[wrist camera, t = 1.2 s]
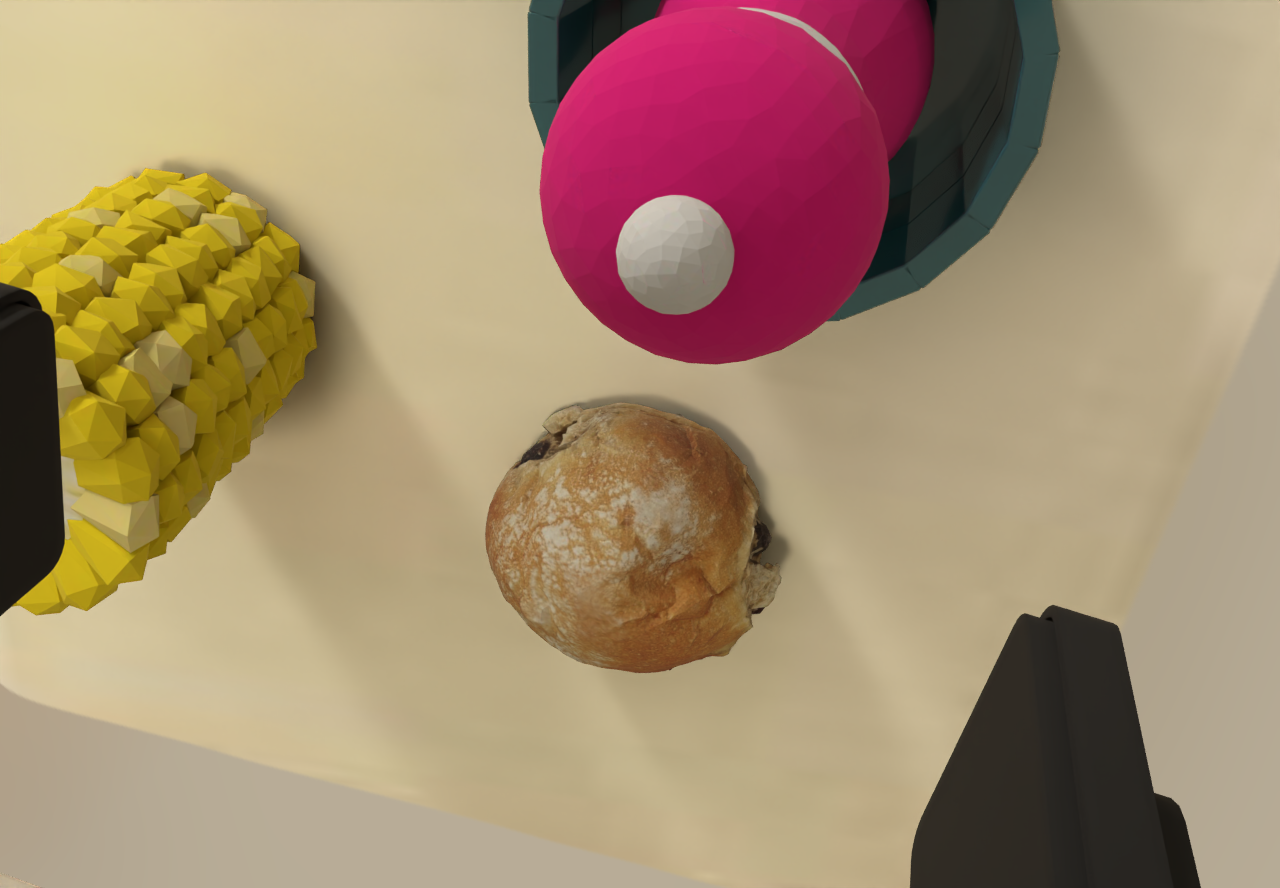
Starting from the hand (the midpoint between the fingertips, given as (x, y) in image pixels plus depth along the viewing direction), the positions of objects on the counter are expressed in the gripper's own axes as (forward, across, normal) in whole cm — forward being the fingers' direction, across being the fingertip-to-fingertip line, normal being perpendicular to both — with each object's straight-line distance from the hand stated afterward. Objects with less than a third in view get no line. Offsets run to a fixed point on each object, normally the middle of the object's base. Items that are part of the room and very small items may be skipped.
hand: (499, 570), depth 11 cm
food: (+28, +18, +14) cm, 36 cm away
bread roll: (+28, +1, +18) cm, 33 cm away
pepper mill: (+27, 0, 0) cm, 27 cm away
